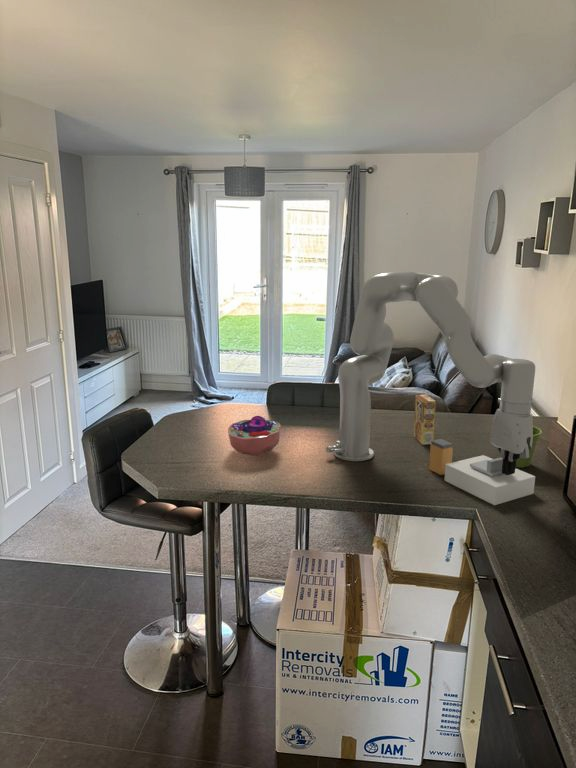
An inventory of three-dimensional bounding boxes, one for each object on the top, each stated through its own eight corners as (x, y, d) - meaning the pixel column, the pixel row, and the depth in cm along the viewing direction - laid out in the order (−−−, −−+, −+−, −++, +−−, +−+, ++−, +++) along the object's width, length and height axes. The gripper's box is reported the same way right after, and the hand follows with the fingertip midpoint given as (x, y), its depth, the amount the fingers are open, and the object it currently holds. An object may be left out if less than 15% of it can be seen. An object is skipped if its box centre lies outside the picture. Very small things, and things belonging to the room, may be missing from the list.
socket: (494, 505, 146) (496, 487, 144) (444, 480, 161) (445, 464, 160) (533, 493, 153) (535, 476, 151) (481, 470, 168) (483, 455, 167)
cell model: (215, 458, 177) (214, 423, 174) (247, 439, 195) (246, 407, 192) (263, 467, 170) (263, 431, 167) (291, 446, 188) (291, 414, 185)
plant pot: (491, 456, 180) (494, 422, 177) (529, 457, 179) (532, 423, 177) (504, 470, 168) (507, 435, 165) (544, 471, 168) (548, 435, 165)
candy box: (433, 444, 190) (436, 400, 186) (421, 445, 190) (424, 401, 186) (424, 436, 199) (426, 394, 195) (412, 436, 198) (415, 394, 194)
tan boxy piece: (440, 475, 165) (443, 446, 163) (429, 469, 169) (430, 440, 167) (451, 472, 167) (453, 443, 165) (439, 466, 171) (441, 438, 169)
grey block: (491, 476, 151) (493, 462, 150) (469, 466, 157) (470, 453, 156) (509, 471, 154) (510, 458, 153) (487, 462, 160) (488, 449, 160)
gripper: (482, 402, 150) (476, 466, 155) (529, 416, 138) (521, 486, 142) (502, 398, 154) (495, 461, 158) (550, 412, 141) (541, 480, 145)
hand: (508, 473), depth 150 cm, fingers closed
